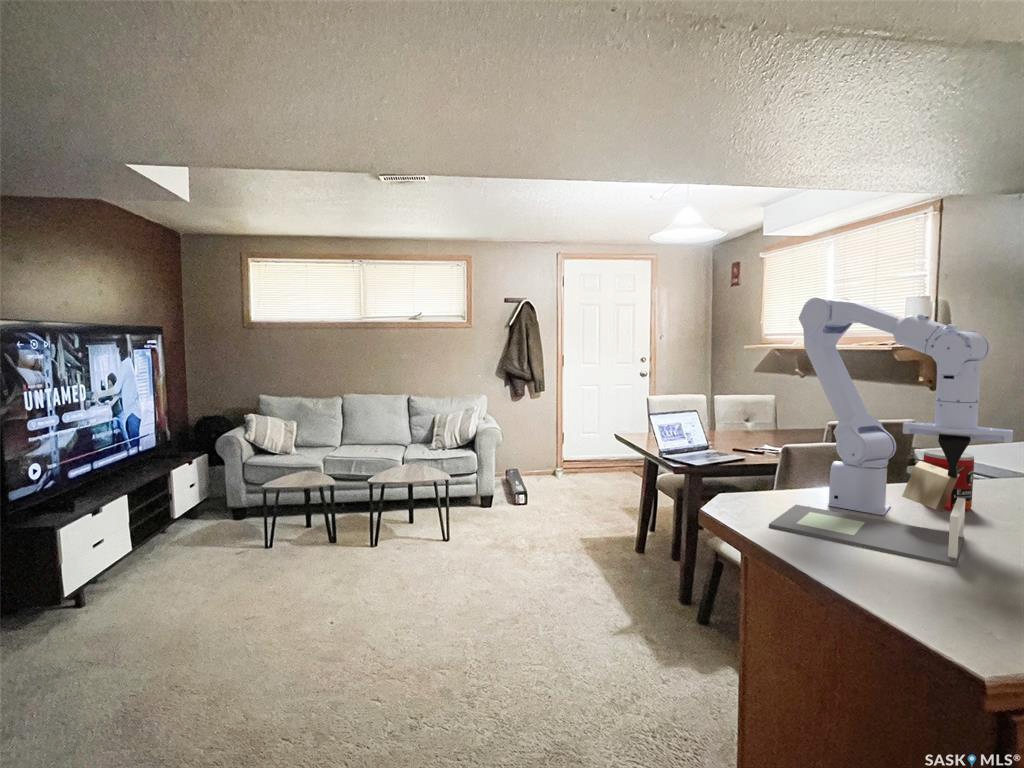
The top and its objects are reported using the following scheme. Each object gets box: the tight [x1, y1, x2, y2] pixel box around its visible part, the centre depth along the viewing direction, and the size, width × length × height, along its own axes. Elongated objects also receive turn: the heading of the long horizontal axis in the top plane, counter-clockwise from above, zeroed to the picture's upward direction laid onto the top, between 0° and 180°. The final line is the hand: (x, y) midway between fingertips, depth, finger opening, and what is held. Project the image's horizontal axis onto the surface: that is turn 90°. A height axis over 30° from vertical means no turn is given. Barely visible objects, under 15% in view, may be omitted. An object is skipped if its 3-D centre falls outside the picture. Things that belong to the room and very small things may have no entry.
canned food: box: [922, 449, 975, 512], centre depth 107 cm, size 8×8×11 cm
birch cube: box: [901, 460, 960, 513], centre depth 95 cm, size 6×6×6 cm
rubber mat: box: [768, 504, 965, 568], centre depth 93 cm, size 26×16×1 cm, turn 46°
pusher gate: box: [948, 498, 966, 558], centre depth 84 cm, size 1×13×6 cm, turn 136°
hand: (952, 478), depth 93 cm, fingers closed, pressing on birch cube
